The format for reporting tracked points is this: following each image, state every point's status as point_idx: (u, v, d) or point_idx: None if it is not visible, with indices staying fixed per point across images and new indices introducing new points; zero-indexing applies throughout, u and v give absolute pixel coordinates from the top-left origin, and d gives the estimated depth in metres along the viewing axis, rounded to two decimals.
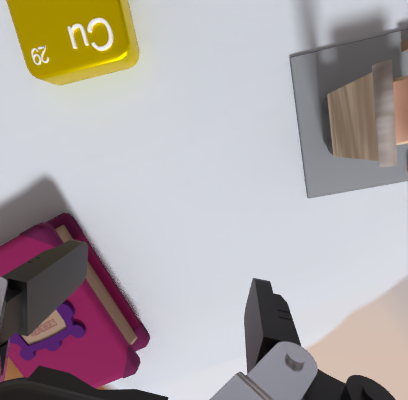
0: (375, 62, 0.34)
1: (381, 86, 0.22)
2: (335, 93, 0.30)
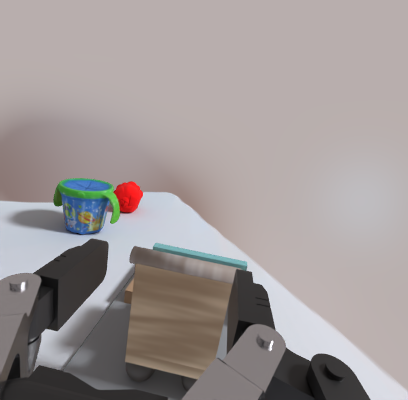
0: (125, 322, 0.32)
1: (154, 256, 0.20)
2: (131, 341, 0.23)
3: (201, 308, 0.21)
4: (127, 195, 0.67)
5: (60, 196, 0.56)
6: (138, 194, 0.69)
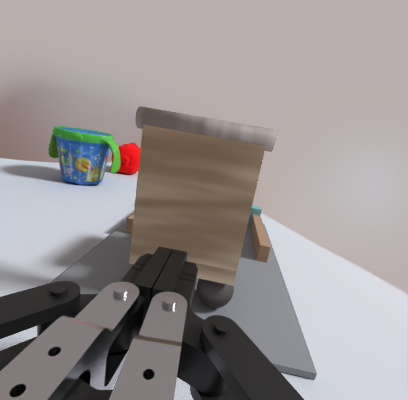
0: (128, 247, 0.27)
1: (166, 113, 0.16)
2: (136, 234, 0.18)
3: (225, 183, 0.17)
4: (128, 154, 0.62)
5: (56, 147, 0.52)
6: (139, 154, 0.64)
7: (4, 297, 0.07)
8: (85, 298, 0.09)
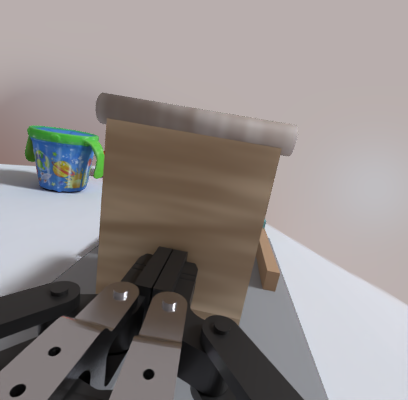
0: None
1: (140, 102, 0.11)
2: (103, 269, 0.14)
3: (223, 201, 0.12)
4: None
5: None
6: None
7: (4, 297, 0.07)
8: (85, 298, 0.09)
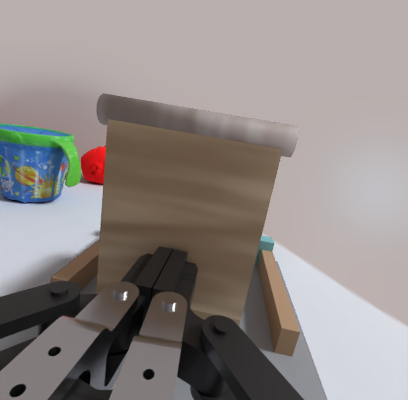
0: None
1: (140, 103, 0.11)
2: (104, 269, 0.14)
3: (224, 201, 0.12)
4: (100, 159, 0.50)
5: None
6: None
7: (4, 297, 0.07)
8: (85, 298, 0.09)
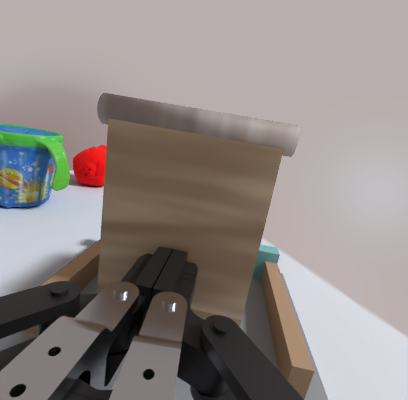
0: None
1: (141, 102, 0.11)
2: (104, 269, 0.14)
3: (225, 201, 0.12)
4: (93, 160, 0.47)
5: None
6: None
7: (4, 297, 0.07)
8: (85, 298, 0.09)
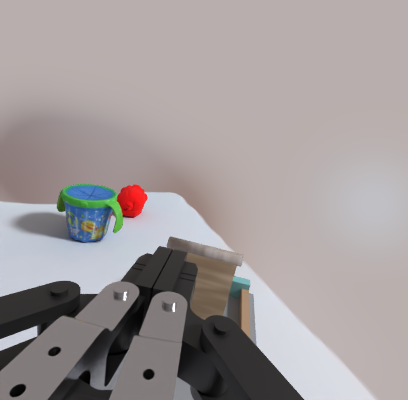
0: None
1: (184, 243, 0.30)
2: None
3: (214, 280, 0.30)
4: (131, 200, 0.66)
5: (64, 201, 0.56)
6: (142, 199, 0.67)
7: (4, 297, 0.07)
8: (85, 298, 0.09)
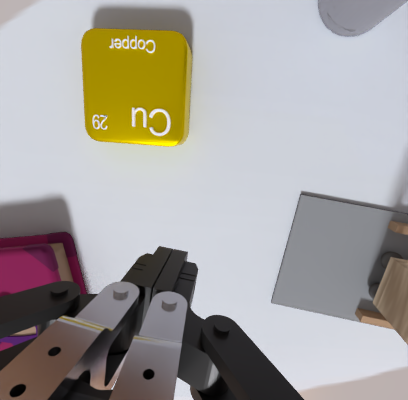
0: (364, 226, 0.40)
1: None
2: (400, 267, 0.35)
3: None
4: None
5: None
6: None
7: (4, 297, 0.07)
8: (85, 297, 0.09)
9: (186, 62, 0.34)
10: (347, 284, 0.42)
